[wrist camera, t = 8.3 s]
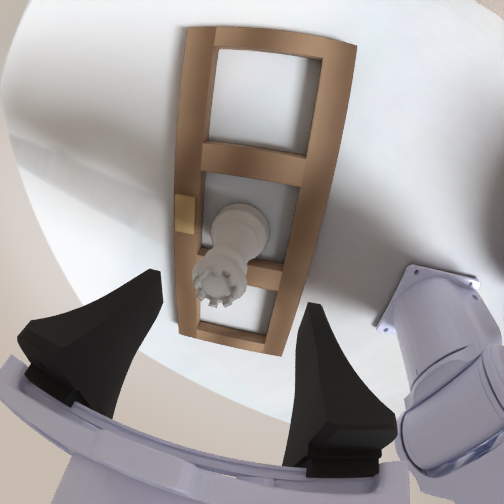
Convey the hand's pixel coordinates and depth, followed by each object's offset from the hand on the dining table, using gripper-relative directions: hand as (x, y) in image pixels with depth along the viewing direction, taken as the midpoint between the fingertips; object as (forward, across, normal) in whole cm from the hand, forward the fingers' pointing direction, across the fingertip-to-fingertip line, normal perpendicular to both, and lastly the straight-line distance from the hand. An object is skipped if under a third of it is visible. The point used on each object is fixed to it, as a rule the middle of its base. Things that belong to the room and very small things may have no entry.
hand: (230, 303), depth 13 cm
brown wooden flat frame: (+10, +1, 0) cm, 10 cm away
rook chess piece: (+10, +1, +1) cm, 10 cm away
